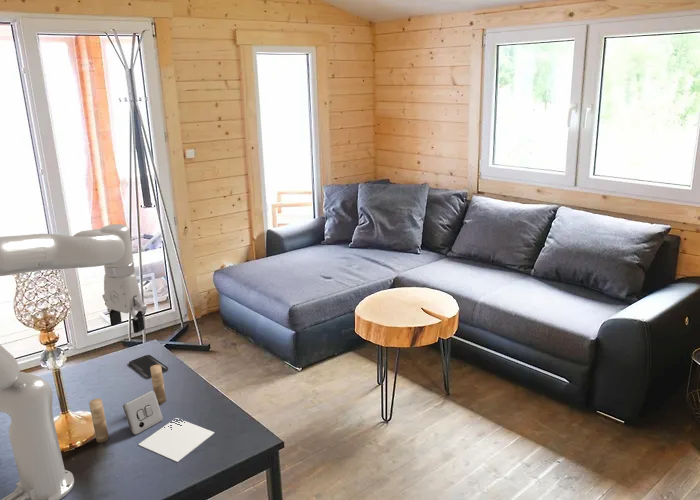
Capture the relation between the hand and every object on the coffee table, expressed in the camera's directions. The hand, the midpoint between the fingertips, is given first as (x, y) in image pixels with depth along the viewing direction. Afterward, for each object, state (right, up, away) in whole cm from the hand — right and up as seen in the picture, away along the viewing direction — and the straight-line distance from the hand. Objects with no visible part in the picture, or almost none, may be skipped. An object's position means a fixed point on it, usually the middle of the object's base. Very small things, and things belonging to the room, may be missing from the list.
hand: (127, 327), depth 160 cm
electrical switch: (+3, -29, +5) cm, 30 cm away
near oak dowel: (-7, -31, -1) cm, 32 cm away
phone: (-7, -19, +37) cm, 42 cm away
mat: (+14, -31, -2) cm, 34 cm away
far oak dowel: (+4, -25, +16) cm, 30 cm away
